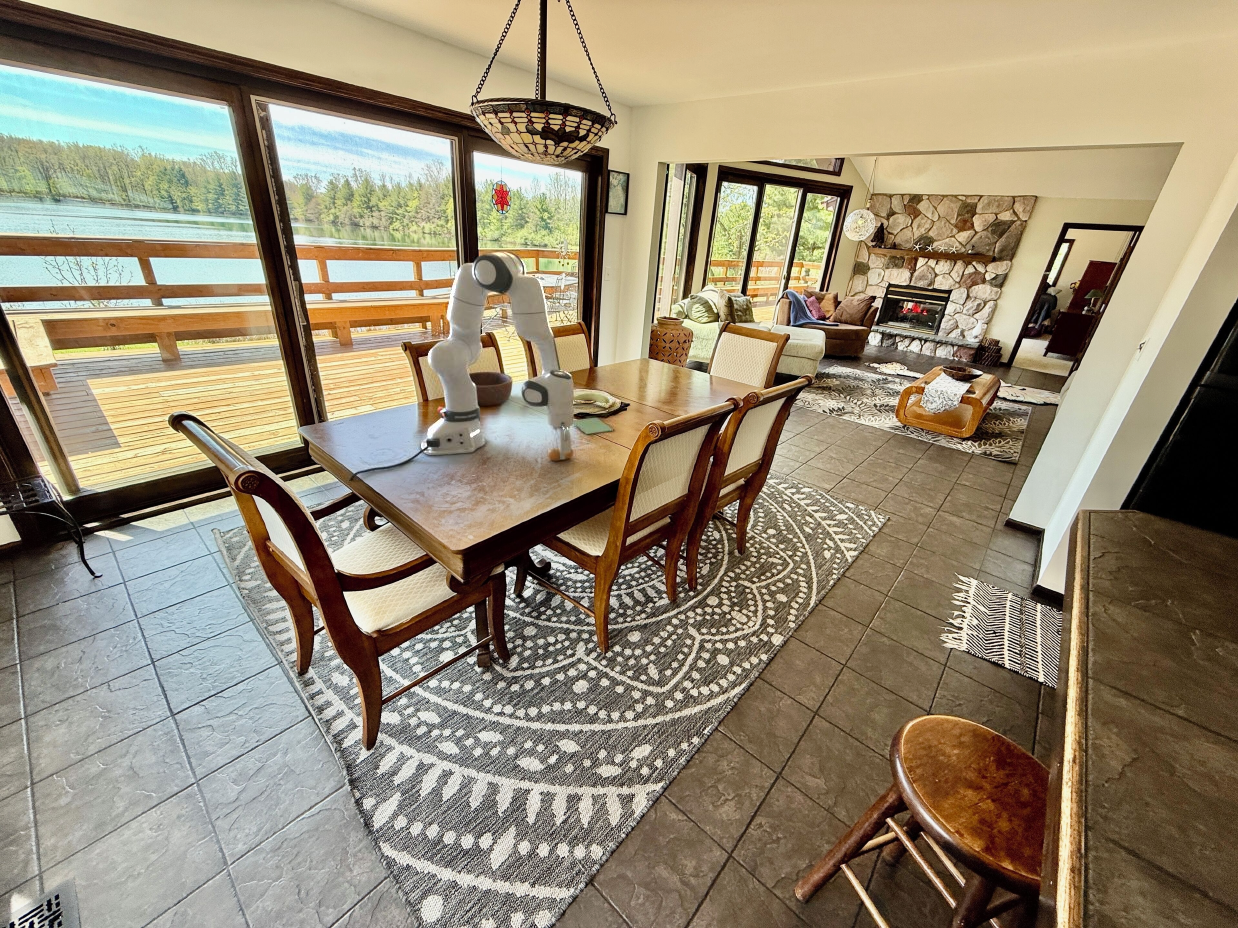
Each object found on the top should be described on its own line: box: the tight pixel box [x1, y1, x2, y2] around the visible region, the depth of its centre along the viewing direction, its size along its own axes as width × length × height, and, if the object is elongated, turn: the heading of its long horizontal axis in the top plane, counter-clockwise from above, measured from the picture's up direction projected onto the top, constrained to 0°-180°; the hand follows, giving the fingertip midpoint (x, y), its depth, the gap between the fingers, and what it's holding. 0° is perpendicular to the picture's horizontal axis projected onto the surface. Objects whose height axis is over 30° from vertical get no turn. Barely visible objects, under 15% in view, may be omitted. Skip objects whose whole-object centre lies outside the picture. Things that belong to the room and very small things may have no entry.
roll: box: [547, 447, 574, 462], centre depth 170 cm, size 9×4×4 cm, turn 118°
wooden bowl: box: [469, 371, 513, 407], centre depth 223 cm, size 25×25×10 cm
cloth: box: [573, 417, 614, 435], centre depth 202 cm, size 12×16×1 cm
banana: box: [573, 392, 610, 413], centre depth 223 cm, size 14×6×20 cm
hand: (560, 454), depth 170 cm, fingers closed on roll, 5 cm apart
